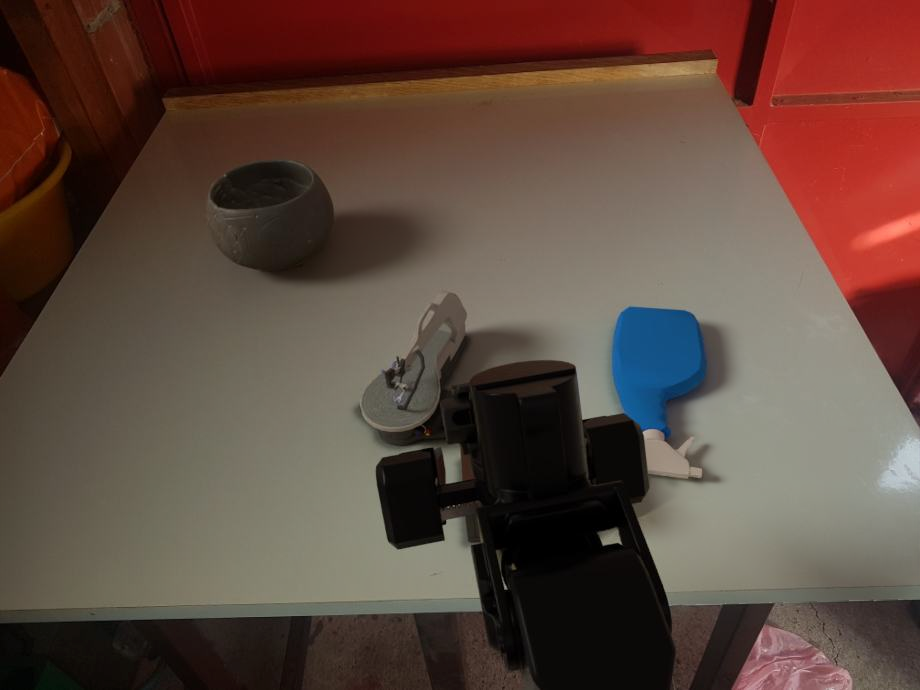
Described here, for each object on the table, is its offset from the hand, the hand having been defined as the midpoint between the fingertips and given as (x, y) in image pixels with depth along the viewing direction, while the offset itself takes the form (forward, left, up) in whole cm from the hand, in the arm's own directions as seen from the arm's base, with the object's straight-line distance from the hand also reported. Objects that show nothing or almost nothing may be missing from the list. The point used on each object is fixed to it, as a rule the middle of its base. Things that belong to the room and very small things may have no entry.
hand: (494, 442), depth 57 cm
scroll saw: (+23, +3, -16) cm, 28 cm away
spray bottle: (+14, -23, -16) cm, 31 cm away
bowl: (+57, +18, -16) cm, 62 cm away
